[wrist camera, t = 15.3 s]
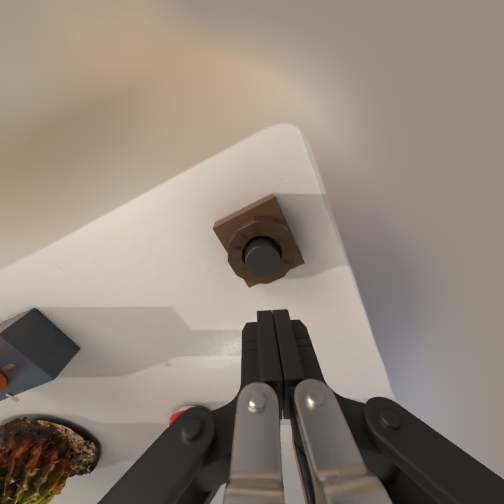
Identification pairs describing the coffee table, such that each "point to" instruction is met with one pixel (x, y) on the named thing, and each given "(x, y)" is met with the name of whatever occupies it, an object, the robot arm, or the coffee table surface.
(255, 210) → the button block
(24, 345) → the dial base block
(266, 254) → the button
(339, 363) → the coffee table surface
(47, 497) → the cactus
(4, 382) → the dial knob
